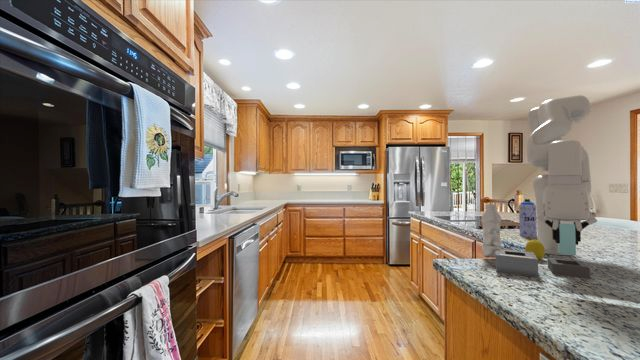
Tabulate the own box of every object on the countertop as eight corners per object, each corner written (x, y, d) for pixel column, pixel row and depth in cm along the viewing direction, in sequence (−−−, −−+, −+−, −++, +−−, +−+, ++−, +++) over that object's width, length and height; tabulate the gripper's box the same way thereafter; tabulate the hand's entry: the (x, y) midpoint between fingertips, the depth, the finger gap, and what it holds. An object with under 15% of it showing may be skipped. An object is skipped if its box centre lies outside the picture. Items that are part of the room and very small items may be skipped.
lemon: (548, 264, 95) (548, 240, 95) (530, 263, 96) (530, 240, 96) (539, 260, 100) (539, 237, 100) (522, 259, 101) (521, 237, 101)
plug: (557, 251, 85) (556, 218, 85) (572, 252, 83) (572, 219, 83) (560, 254, 82) (559, 220, 82) (575, 255, 80) (575, 221, 80)
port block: (495, 266, 91) (495, 248, 92) (533, 271, 86) (533, 251, 86) (496, 275, 83) (495, 254, 83) (538, 280, 78) (537, 258, 78)
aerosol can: (521, 236, 148) (520, 199, 149) (517, 234, 155) (516, 198, 156) (539, 237, 145) (538, 199, 146) (534, 235, 152) (533, 198, 153)
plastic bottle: (479, 257, 103) (477, 204, 104) (485, 255, 108) (484, 203, 108) (498, 261, 98) (497, 205, 99) (505, 258, 103) (503, 204, 103)
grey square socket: (547, 270, 87) (547, 257, 88) (582, 274, 83) (581, 261, 83) (552, 277, 81) (552, 263, 81) (590, 282, 76) (589, 267, 77)
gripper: (598, 181, 82) (600, 243, 82) (528, 182, 90) (530, 238, 90) (607, 181, 75) (609, 248, 75) (531, 182, 84) (533, 242, 84)
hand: (566, 242), depth 83 cm, fingers closed on plug, 3 cm apart
